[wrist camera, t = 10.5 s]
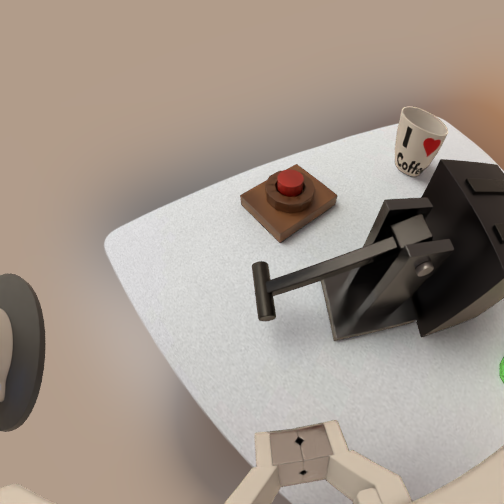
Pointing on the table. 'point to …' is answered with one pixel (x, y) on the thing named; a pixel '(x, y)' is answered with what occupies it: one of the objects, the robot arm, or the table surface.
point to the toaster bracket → (384, 277)
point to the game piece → (502, 370)
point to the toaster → (463, 244)
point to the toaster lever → (335, 264)
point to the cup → (417, 140)
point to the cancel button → (290, 183)
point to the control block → (287, 204)
